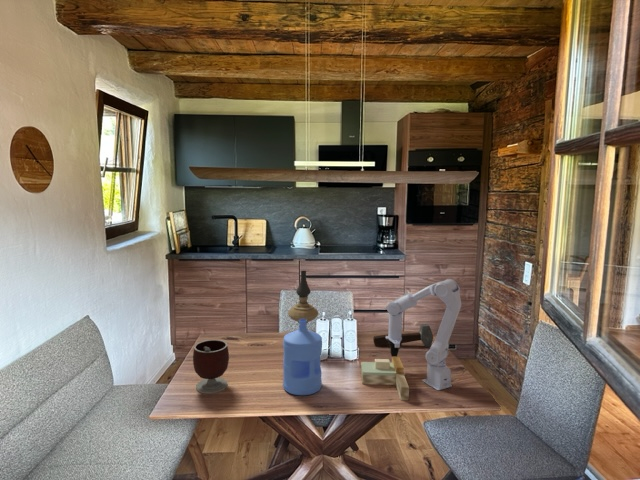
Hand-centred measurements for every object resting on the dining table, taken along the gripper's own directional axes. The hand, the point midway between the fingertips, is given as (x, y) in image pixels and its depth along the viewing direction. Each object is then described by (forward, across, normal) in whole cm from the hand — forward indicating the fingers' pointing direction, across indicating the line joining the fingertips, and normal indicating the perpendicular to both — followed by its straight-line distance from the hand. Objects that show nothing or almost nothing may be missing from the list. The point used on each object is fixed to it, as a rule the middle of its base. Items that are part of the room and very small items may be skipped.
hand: (394, 356), depth 181 cm
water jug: (+6, +18, -40) cm, 44 cm away
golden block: (+1, +9, 0) cm, 9 cm away
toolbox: (+6, +15, -6) cm, 18 cm away
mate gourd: (+6, +20, -76) cm, 79 cm away
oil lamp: (+6, -19, -42) cm, 46 cm away
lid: (+3, +9, -6) cm, 12 cm away
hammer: (+6, -28, +9) cm, 30 cm away
